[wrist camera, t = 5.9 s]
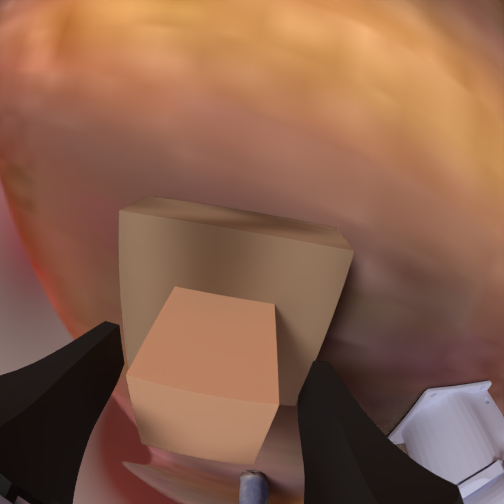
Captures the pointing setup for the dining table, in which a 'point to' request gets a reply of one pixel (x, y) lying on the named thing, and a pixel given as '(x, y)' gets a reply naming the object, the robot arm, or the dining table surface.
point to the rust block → (207, 377)
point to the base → (233, 272)
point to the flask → (253, 488)
